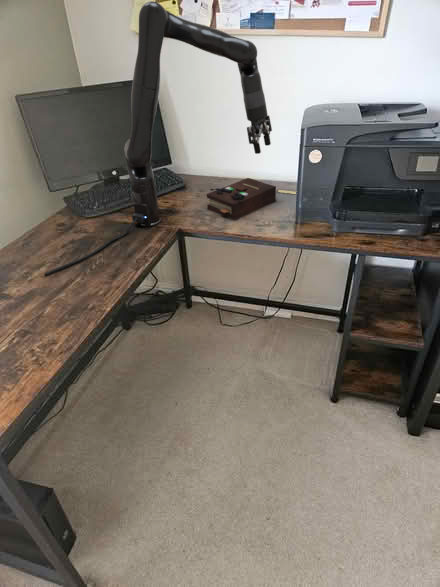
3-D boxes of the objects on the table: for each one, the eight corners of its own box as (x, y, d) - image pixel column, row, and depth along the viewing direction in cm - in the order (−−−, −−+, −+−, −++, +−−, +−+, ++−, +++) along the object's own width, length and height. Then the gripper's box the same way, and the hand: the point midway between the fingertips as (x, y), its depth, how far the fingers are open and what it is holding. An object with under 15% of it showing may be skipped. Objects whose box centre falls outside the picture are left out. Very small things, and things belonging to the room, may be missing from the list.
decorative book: (281, 183, 173) (231, 205, 157) (281, 200, 177) (232, 222, 162) (249, 174, 185) (200, 193, 169) (250, 189, 189) (201, 209, 174)
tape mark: (296, 194, 182) (296, 193, 182) (277, 192, 185) (277, 191, 185) (297, 192, 184) (297, 191, 184) (279, 190, 187) (279, 189, 187)
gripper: (255, 100, 151) (262, 143, 160) (236, 111, 142) (245, 156, 151) (273, 97, 147) (279, 142, 156) (255, 109, 138) (263, 155, 147)
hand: (263, 149), depth 153 cm, fingers open, 8 cm apart
